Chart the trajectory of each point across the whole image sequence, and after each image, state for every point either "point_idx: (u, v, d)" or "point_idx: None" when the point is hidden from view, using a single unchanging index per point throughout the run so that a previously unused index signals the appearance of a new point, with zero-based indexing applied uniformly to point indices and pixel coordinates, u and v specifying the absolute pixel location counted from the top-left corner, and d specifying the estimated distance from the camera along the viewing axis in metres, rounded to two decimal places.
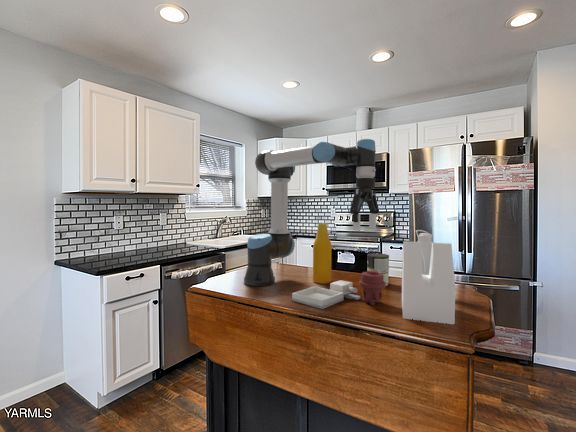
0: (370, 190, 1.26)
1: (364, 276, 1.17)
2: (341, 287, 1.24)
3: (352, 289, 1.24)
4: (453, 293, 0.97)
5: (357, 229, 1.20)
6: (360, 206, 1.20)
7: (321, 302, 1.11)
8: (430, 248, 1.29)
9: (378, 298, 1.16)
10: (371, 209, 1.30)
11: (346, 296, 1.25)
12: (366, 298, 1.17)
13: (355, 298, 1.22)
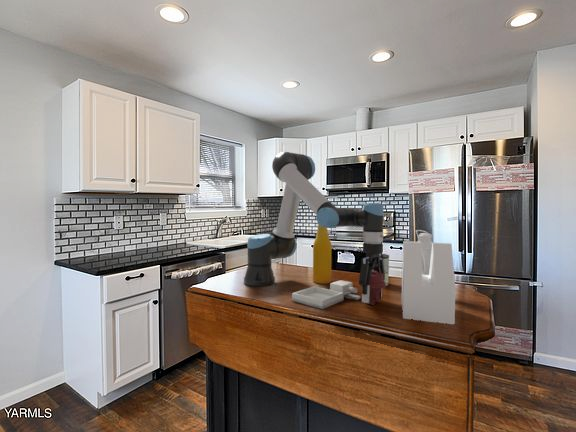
0: (378, 254, 1.20)
1: None
2: (341, 287, 1.24)
3: (352, 289, 1.24)
4: (453, 293, 0.97)
5: (366, 301, 1.15)
6: (369, 277, 1.14)
7: (321, 302, 1.11)
8: (430, 248, 1.29)
9: (378, 298, 1.16)
10: None
11: (346, 296, 1.25)
12: None
13: (355, 298, 1.22)
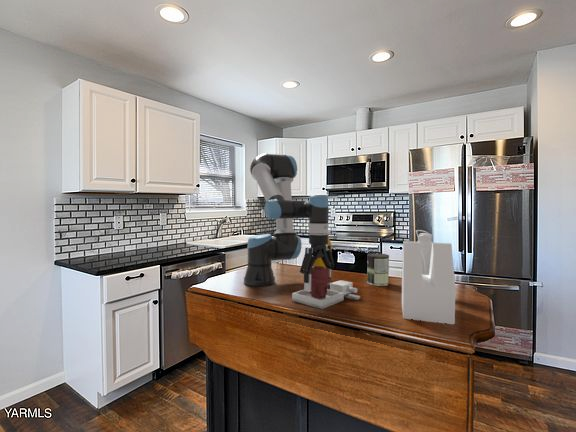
0: (324, 246, 1.22)
1: None
2: (341, 287, 1.24)
3: (352, 289, 1.24)
4: (453, 293, 0.97)
5: (308, 290, 1.16)
6: (311, 266, 1.16)
7: (321, 302, 1.11)
8: (430, 248, 1.29)
9: (323, 293, 1.18)
10: (326, 264, 1.25)
11: (346, 296, 1.25)
12: (311, 293, 1.19)
13: (355, 298, 1.22)
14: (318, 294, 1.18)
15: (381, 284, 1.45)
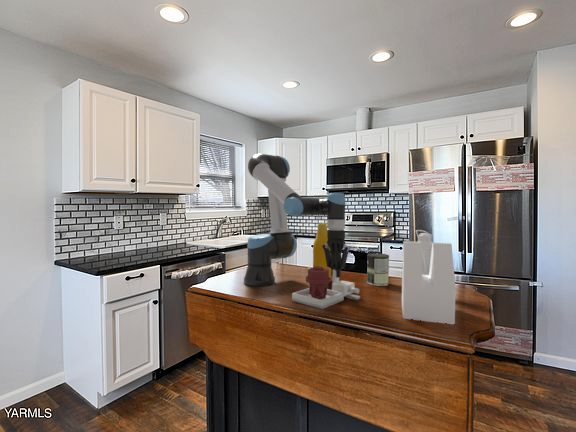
0: (340, 241, 1.27)
1: (309, 272, 1.19)
2: (343, 287, 1.23)
3: (354, 289, 1.23)
4: (453, 293, 0.97)
5: None
6: (331, 261, 1.30)
7: (321, 302, 1.11)
8: (430, 248, 1.29)
9: (322, 293, 1.18)
10: None
11: (346, 296, 1.25)
12: (311, 293, 1.19)
13: (355, 298, 1.22)
14: (318, 295, 1.18)
15: (381, 284, 1.45)
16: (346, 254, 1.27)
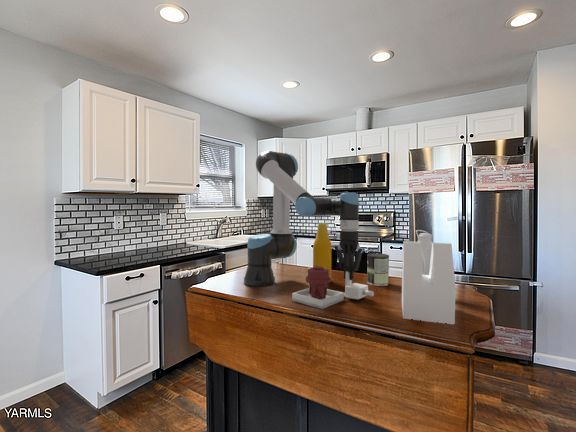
0: (354, 242, 1.23)
1: (309, 272, 1.19)
2: (357, 290, 1.19)
3: (368, 292, 1.19)
4: (453, 293, 0.97)
5: None
6: (343, 263, 1.26)
7: (321, 302, 1.11)
8: (430, 248, 1.29)
9: (322, 293, 1.18)
10: None
11: None
12: (311, 293, 1.19)
13: None
14: (318, 295, 1.18)
15: (381, 284, 1.45)
16: (360, 256, 1.23)
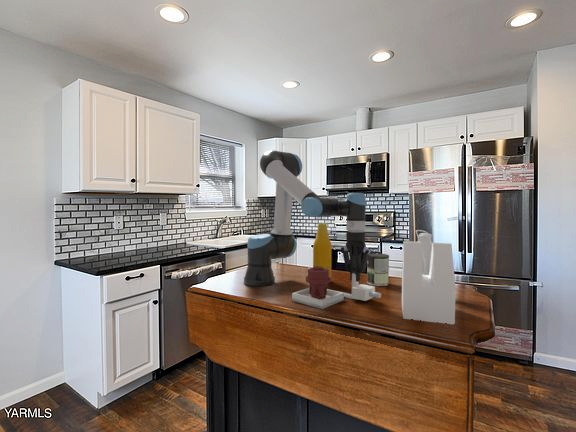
0: (360, 243, 1.21)
1: (309, 272, 1.19)
2: (364, 292, 1.17)
3: (375, 294, 1.17)
4: (453, 293, 0.97)
5: None
6: (350, 264, 1.24)
7: (321, 302, 1.11)
8: (430, 248, 1.30)
9: (322, 293, 1.18)
10: None
11: (346, 296, 1.25)
12: (311, 293, 1.19)
13: None
14: (318, 295, 1.18)
15: (381, 284, 1.45)
16: (367, 257, 1.21)
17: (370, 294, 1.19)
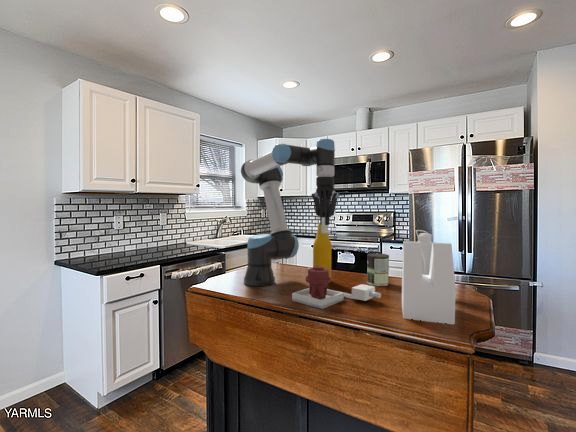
0: (329, 187, 1.26)
1: (309, 272, 1.19)
2: (364, 292, 1.17)
3: (375, 294, 1.17)
4: (453, 293, 0.97)
5: None
6: (320, 209, 1.29)
7: (321, 302, 1.11)
8: (430, 248, 1.30)
9: (322, 293, 1.18)
10: None
11: (346, 296, 1.25)
12: (311, 293, 1.19)
13: None
14: (318, 295, 1.18)
15: (381, 284, 1.45)
16: (335, 200, 1.25)
17: (370, 294, 1.19)
